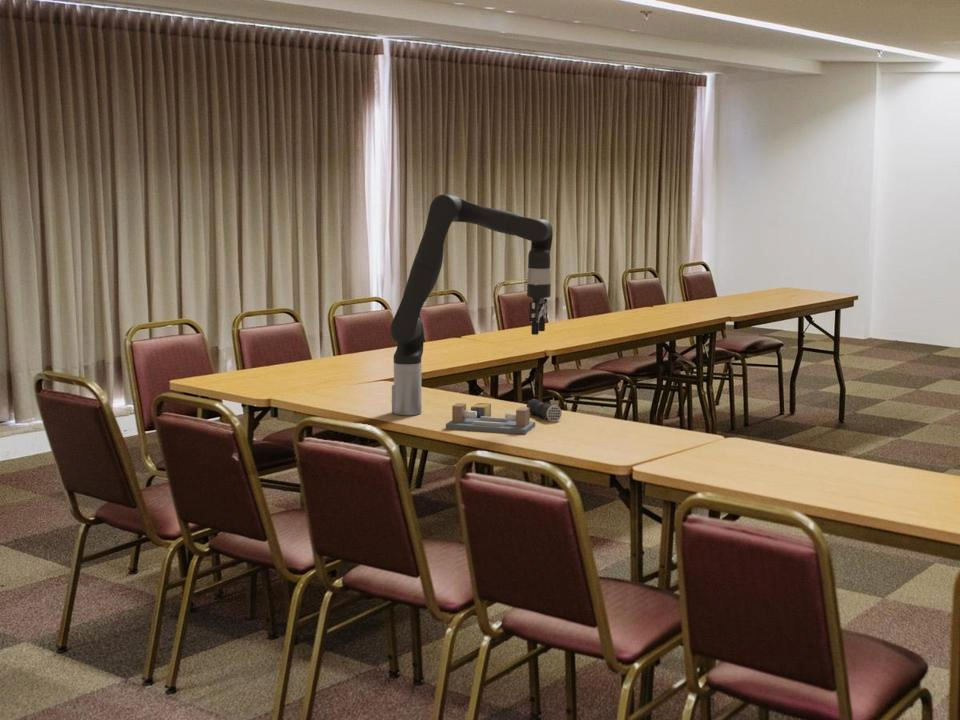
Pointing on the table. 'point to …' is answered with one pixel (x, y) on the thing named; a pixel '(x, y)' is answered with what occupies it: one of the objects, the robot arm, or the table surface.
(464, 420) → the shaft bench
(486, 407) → the coupler
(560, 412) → the flashlight
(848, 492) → the table surface
